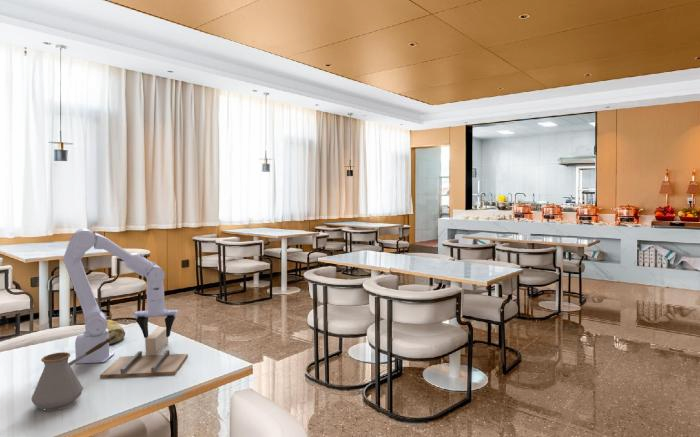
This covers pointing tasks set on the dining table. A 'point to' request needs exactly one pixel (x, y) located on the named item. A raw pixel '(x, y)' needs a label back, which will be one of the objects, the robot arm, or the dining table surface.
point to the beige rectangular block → (156, 341)
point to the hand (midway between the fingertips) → (157, 336)
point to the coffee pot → (60, 380)
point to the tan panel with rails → (145, 365)
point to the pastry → (115, 331)
